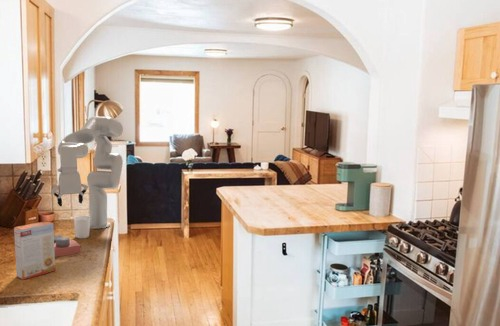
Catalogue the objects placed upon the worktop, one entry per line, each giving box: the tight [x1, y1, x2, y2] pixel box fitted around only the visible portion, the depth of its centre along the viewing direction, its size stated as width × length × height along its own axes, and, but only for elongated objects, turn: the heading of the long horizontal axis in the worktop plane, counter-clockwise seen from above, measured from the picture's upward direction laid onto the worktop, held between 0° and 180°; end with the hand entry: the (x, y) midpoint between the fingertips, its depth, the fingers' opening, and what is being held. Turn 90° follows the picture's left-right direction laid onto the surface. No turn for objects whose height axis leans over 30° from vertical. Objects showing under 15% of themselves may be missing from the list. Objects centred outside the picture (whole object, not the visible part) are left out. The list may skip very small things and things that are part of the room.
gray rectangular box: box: [54, 234, 64, 243], centre depth 232 cm, size 7×5×5 cm
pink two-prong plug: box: [54, 236, 82, 258], centre depth 227 cm, size 17×14×6 cm
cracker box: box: [13, 220, 56, 280], centre depth 196 cm, size 14×6×21 cm, turn 141°
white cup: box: [73, 215, 91, 239], centre depth 250 cm, size 8×8×10 cm
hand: (70, 204), depth 236 cm, fingers open, 9 cm apart
